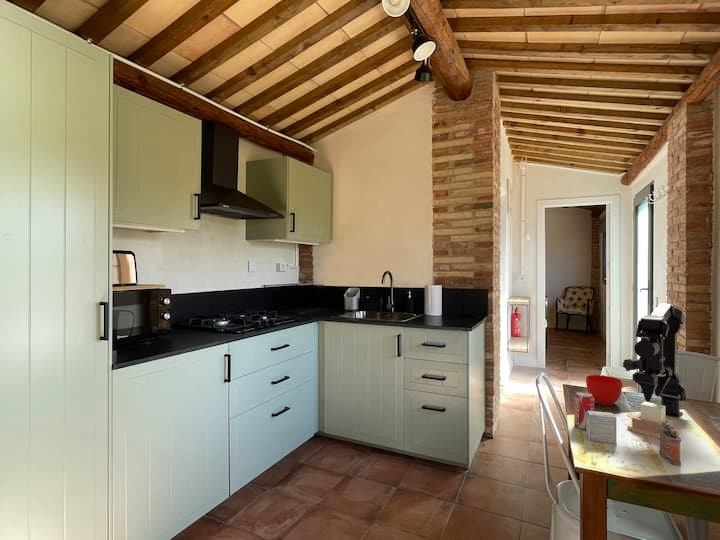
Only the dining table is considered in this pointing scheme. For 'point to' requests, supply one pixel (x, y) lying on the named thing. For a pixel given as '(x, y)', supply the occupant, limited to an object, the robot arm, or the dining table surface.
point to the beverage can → (582, 408)
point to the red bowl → (604, 388)
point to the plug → (653, 412)
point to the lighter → (669, 445)
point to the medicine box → (601, 426)
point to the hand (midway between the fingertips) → (652, 398)
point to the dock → (648, 426)
